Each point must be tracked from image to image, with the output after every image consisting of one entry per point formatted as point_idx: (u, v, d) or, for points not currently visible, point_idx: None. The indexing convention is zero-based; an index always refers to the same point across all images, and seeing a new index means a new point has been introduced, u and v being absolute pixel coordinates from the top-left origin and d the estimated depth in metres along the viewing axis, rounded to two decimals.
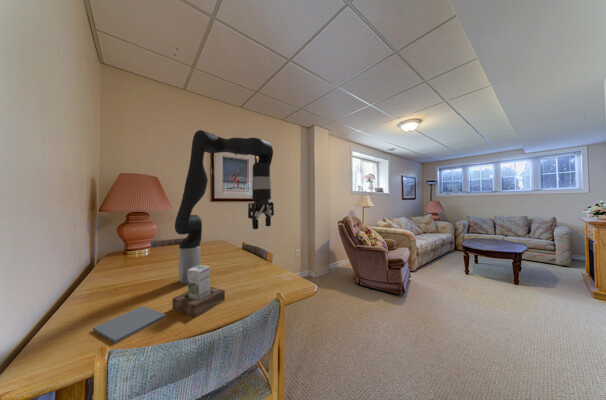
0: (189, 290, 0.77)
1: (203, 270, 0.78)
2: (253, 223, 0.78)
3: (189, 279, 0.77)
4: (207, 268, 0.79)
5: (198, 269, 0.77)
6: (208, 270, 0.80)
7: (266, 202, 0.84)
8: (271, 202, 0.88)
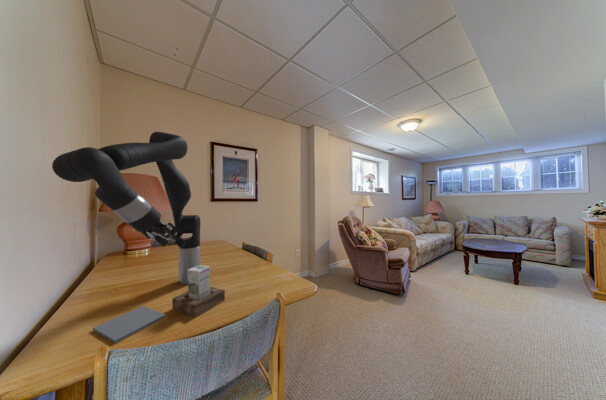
0: (189, 290, 0.77)
1: (203, 270, 0.78)
2: None
3: (189, 279, 0.77)
4: (207, 268, 0.79)
5: (198, 269, 0.77)
6: (208, 270, 0.80)
7: (153, 228, 0.61)
8: (163, 228, 0.60)
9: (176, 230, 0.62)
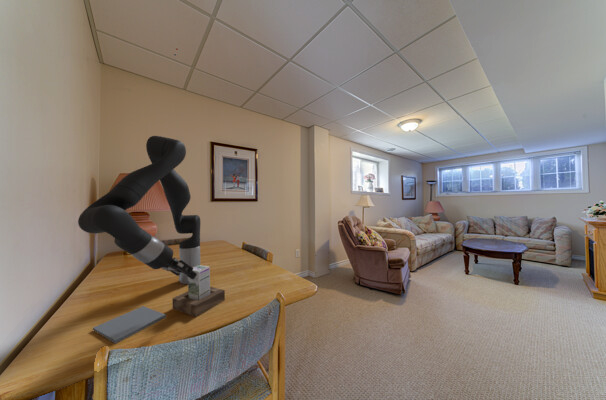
0: (189, 290, 0.77)
1: (203, 270, 0.78)
2: None
3: (189, 279, 0.77)
4: (207, 268, 0.79)
5: (198, 269, 0.77)
6: (208, 270, 0.80)
7: (167, 264, 0.66)
8: (175, 265, 0.65)
9: (187, 266, 0.67)
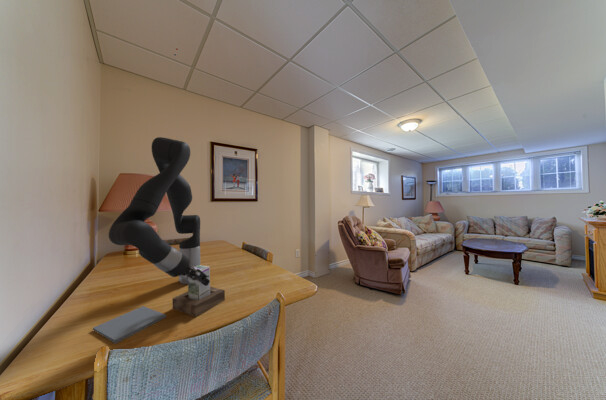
0: (189, 290, 0.77)
1: (203, 270, 0.78)
2: None
3: (189, 279, 0.77)
4: (207, 268, 0.79)
5: None
6: (208, 270, 0.80)
7: (184, 272, 0.72)
8: (193, 274, 0.71)
9: (203, 274, 0.73)
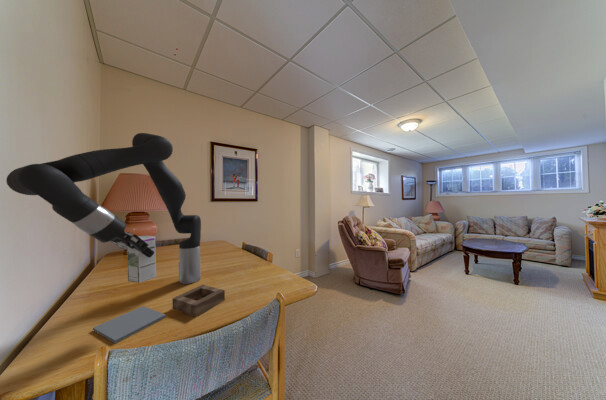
0: (128, 262, 0.67)
1: (146, 239, 0.67)
2: None
3: (128, 249, 0.66)
4: (152, 238, 0.69)
5: None
6: (153, 240, 0.69)
7: (118, 238, 0.61)
8: (128, 240, 0.60)
9: (141, 241, 0.63)
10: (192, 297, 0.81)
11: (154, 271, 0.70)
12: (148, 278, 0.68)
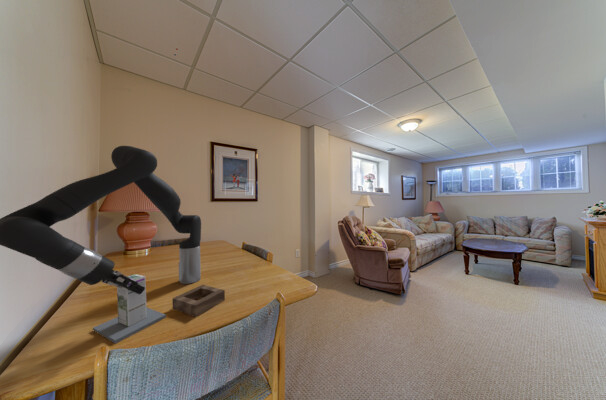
0: (118, 304, 0.65)
1: None
2: None
3: (118, 291, 0.65)
4: (141, 278, 0.67)
5: None
6: (143, 280, 0.68)
7: (106, 279, 0.60)
8: (114, 280, 0.59)
9: (129, 280, 0.61)
10: (192, 297, 0.81)
11: (145, 311, 0.68)
12: (138, 320, 0.66)
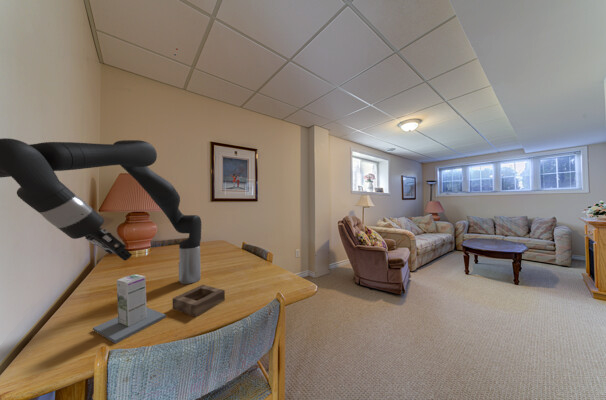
0: (118, 304, 0.65)
1: (134, 281, 0.65)
2: None
3: (118, 291, 0.65)
4: (141, 278, 0.67)
5: (128, 280, 0.65)
6: (143, 281, 0.68)
7: (91, 235, 0.53)
8: (99, 238, 0.52)
9: (116, 242, 0.54)
10: (192, 297, 0.81)
11: (145, 311, 0.68)
12: (138, 320, 0.66)
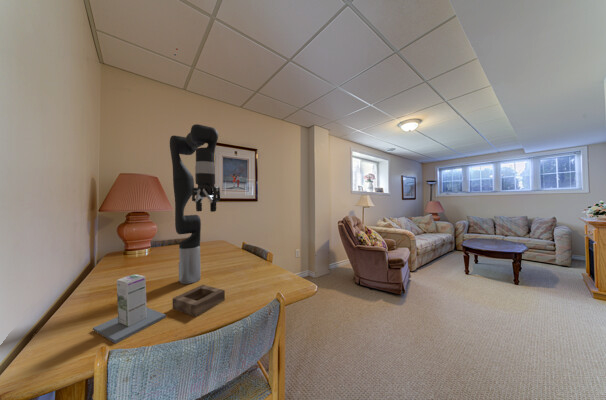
0: (118, 304, 0.65)
1: (134, 281, 0.65)
2: None
3: (118, 291, 0.65)
4: (141, 278, 0.67)
5: (128, 280, 0.65)
6: (143, 281, 0.68)
7: (206, 186, 0.84)
8: None
9: (218, 194, 0.83)
10: (192, 297, 0.81)
11: (145, 311, 0.68)
12: (138, 320, 0.66)
